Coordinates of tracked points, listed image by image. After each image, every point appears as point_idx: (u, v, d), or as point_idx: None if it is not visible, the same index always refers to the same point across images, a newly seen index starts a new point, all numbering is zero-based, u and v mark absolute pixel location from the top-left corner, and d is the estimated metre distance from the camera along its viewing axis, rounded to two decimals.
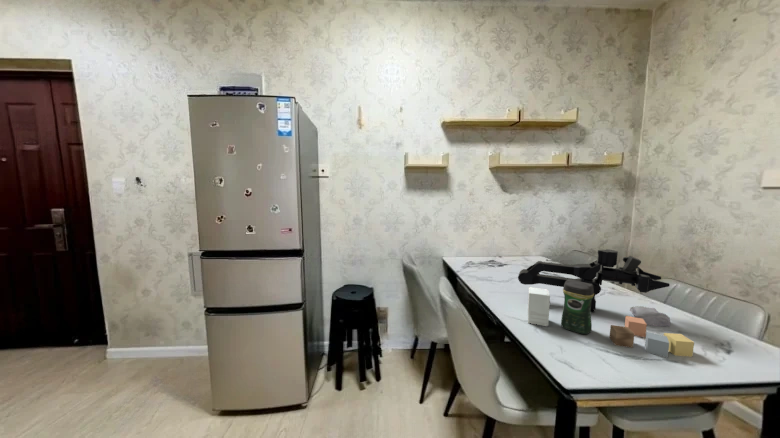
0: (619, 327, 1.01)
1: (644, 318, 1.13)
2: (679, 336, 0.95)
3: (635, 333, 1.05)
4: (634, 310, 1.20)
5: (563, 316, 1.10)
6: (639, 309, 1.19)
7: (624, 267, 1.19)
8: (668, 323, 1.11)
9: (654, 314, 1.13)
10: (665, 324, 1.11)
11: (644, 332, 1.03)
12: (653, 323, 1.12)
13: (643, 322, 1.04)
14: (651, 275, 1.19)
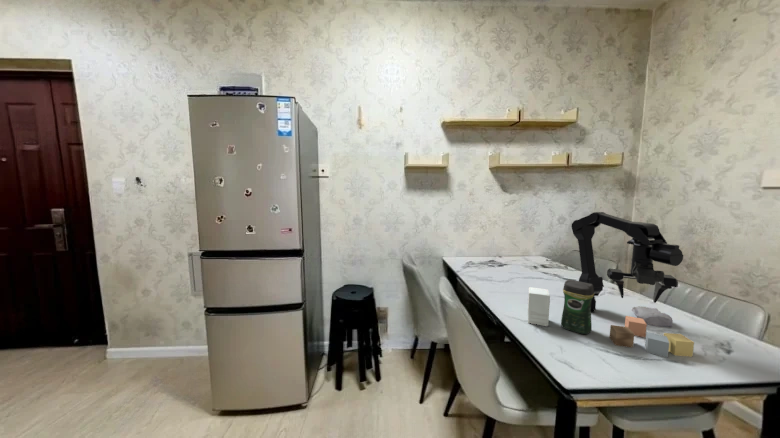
0: (619, 327, 1.01)
1: (646, 318, 1.13)
2: (679, 336, 0.95)
3: (635, 333, 1.05)
4: (636, 310, 1.20)
5: (563, 316, 1.10)
6: (641, 309, 1.19)
7: (644, 268, 1.00)
8: (670, 323, 1.11)
9: (656, 314, 1.13)
10: (667, 324, 1.11)
11: (644, 332, 1.03)
12: (655, 323, 1.12)
13: (643, 322, 1.04)
14: (655, 294, 1.02)
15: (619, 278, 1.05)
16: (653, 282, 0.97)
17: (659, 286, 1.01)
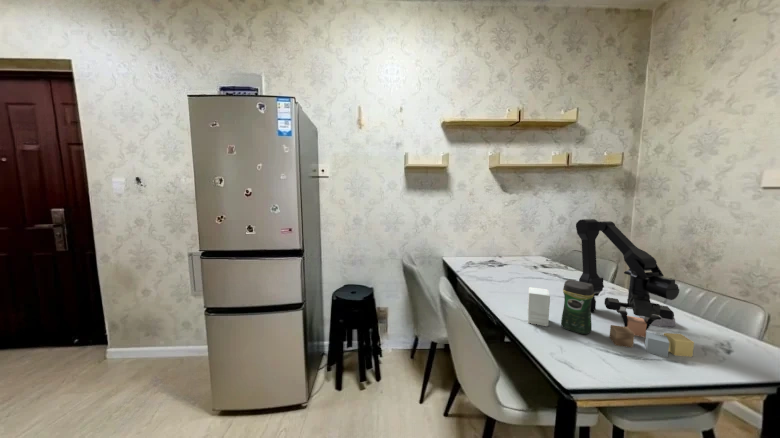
0: (619, 327, 1.01)
1: None
2: (679, 336, 0.95)
3: (635, 333, 1.05)
4: None
5: (563, 316, 1.10)
6: None
7: (641, 299, 1.02)
8: (673, 323, 1.10)
9: None
10: (670, 324, 1.11)
11: (644, 332, 1.03)
12: (658, 323, 1.12)
13: (643, 322, 1.04)
14: None
15: (616, 308, 1.06)
16: (649, 315, 0.98)
17: None
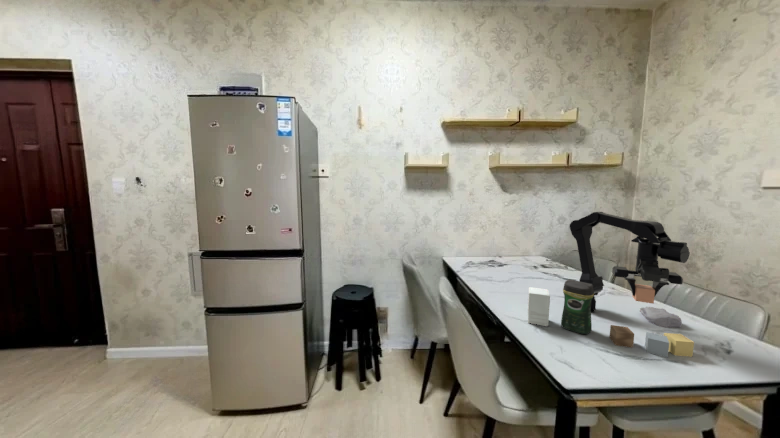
0: (619, 327, 1.01)
1: (656, 319, 1.12)
2: (679, 336, 0.95)
3: (643, 299, 1.05)
4: (644, 311, 1.19)
5: (563, 316, 1.10)
6: (649, 310, 1.19)
7: (649, 265, 1.02)
8: (680, 324, 1.10)
9: (665, 315, 1.12)
10: (677, 325, 1.10)
11: (652, 298, 1.03)
12: (665, 324, 1.11)
13: (651, 288, 1.04)
14: None
15: (624, 275, 1.06)
16: (658, 279, 0.98)
17: (657, 282, 1.03)
